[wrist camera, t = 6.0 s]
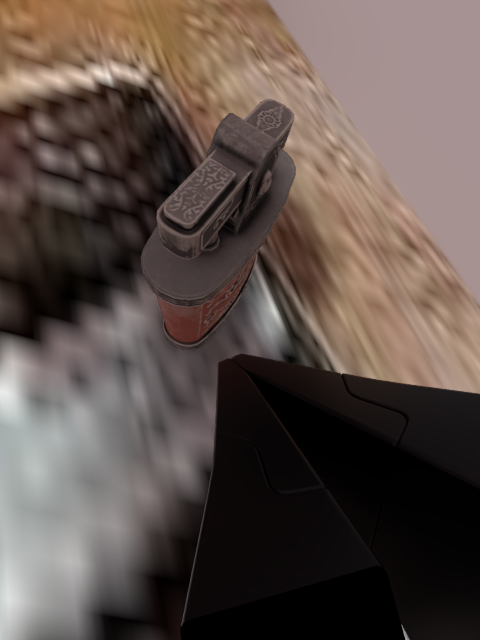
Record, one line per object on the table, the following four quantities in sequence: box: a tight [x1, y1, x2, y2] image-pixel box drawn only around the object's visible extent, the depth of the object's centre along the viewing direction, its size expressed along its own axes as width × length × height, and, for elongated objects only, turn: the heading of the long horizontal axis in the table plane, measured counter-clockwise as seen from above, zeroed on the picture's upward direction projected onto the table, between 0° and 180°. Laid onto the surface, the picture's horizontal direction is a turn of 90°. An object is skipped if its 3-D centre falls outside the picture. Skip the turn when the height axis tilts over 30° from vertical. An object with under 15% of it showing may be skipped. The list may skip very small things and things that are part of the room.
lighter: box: [141, 99, 296, 350], centre depth 12 cm, size 8×3×10 cm, turn 150°
